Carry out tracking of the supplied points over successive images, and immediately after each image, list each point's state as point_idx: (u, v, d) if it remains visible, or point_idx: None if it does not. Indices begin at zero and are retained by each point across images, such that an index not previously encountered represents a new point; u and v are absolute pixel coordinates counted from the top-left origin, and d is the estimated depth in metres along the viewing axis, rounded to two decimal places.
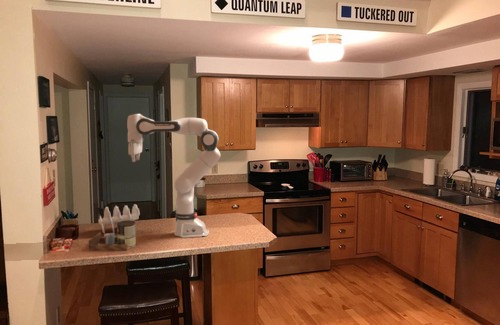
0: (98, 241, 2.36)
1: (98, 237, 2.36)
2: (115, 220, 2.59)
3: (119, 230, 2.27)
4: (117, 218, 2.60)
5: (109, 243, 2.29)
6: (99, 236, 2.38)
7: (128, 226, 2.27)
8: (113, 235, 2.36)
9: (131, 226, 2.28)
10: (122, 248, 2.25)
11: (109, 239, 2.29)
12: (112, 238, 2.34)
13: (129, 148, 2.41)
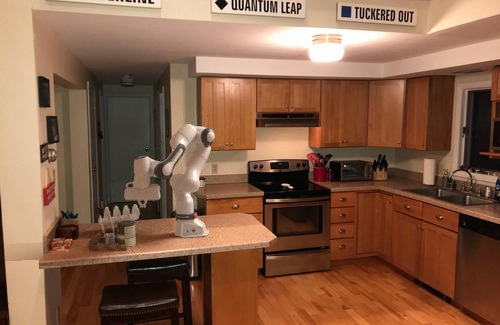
0: (98, 241, 2.36)
1: (98, 237, 2.36)
2: (115, 220, 2.59)
3: (119, 230, 2.27)
4: (117, 218, 2.60)
5: (109, 243, 2.29)
6: (99, 236, 2.38)
7: (128, 226, 2.27)
8: (113, 235, 2.36)
9: (131, 226, 2.28)
10: (122, 248, 2.25)
11: (109, 239, 2.29)
12: (112, 238, 2.34)
13: (158, 192, 2.29)
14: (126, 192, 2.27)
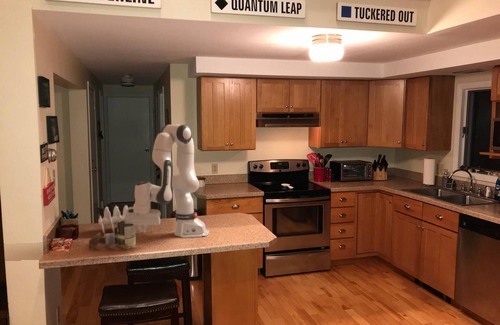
0: (98, 241, 2.36)
1: (98, 237, 2.36)
2: (115, 220, 2.59)
3: (119, 230, 2.27)
4: (117, 218, 2.60)
5: (109, 243, 2.29)
6: (99, 236, 2.38)
7: (128, 226, 2.27)
8: (113, 235, 2.36)
9: (131, 226, 2.28)
10: (122, 248, 2.25)
11: (109, 239, 2.29)
12: (112, 238, 2.34)
13: (159, 218, 2.30)
14: (126, 217, 2.28)
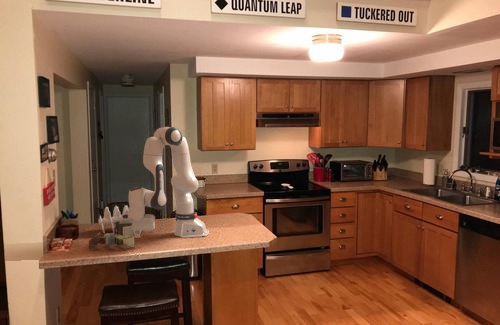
0: (98, 241, 2.36)
1: (98, 237, 2.36)
2: (115, 220, 2.59)
3: (117, 230, 2.27)
4: (117, 218, 2.60)
5: (109, 243, 2.29)
6: (99, 236, 2.38)
7: (126, 226, 2.27)
8: (113, 235, 2.36)
9: (129, 226, 2.28)
10: (122, 248, 2.25)
11: (109, 239, 2.29)
12: (112, 238, 2.34)
13: (153, 223, 2.31)
14: (121, 223, 2.29)
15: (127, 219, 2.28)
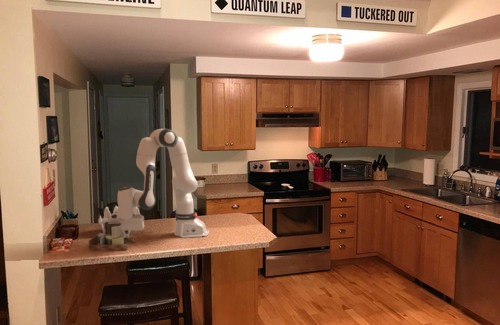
0: (98, 241, 2.36)
1: (98, 237, 2.36)
2: None
3: (106, 230, 2.27)
4: None
5: (103, 243, 2.29)
6: None
7: (115, 226, 2.27)
8: None
9: (118, 226, 2.28)
10: (122, 248, 2.25)
11: (103, 239, 2.29)
12: None
13: (142, 223, 2.30)
14: (110, 223, 2.29)
15: (116, 219, 2.28)
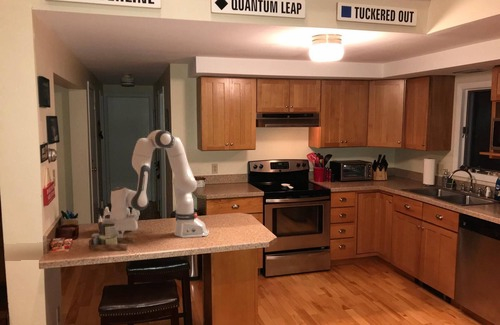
0: None
1: None
2: None
3: (100, 230, 2.27)
4: None
5: (97, 243, 2.28)
6: None
7: (109, 226, 2.27)
8: None
9: (112, 226, 2.28)
10: (122, 248, 2.25)
11: (97, 239, 2.29)
12: None
13: (136, 223, 2.30)
14: (103, 223, 2.28)
15: (109, 219, 2.28)
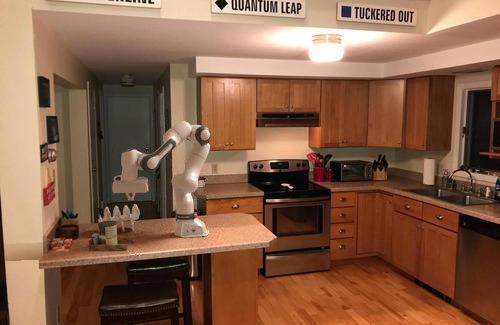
0: None
1: None
2: (115, 220, 2.59)
3: (100, 230, 2.27)
4: (117, 218, 2.60)
5: (97, 243, 2.28)
6: None
7: (109, 226, 2.27)
8: None
9: (112, 226, 2.28)
10: (122, 248, 2.25)
11: (97, 239, 2.29)
12: None
13: (146, 185, 2.30)
14: (114, 185, 2.28)
15: (120, 181, 2.28)
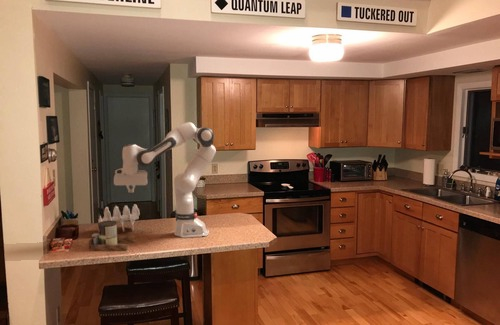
0: None
1: None
2: (115, 220, 2.59)
3: (100, 230, 2.27)
4: (117, 218, 2.60)
5: (97, 243, 2.28)
6: None
7: (109, 226, 2.27)
8: None
9: (112, 226, 2.28)
10: (122, 248, 2.25)
11: (97, 239, 2.29)
12: None
13: (146, 178, 2.44)
14: (115, 178, 2.42)
15: (121, 174, 2.41)
